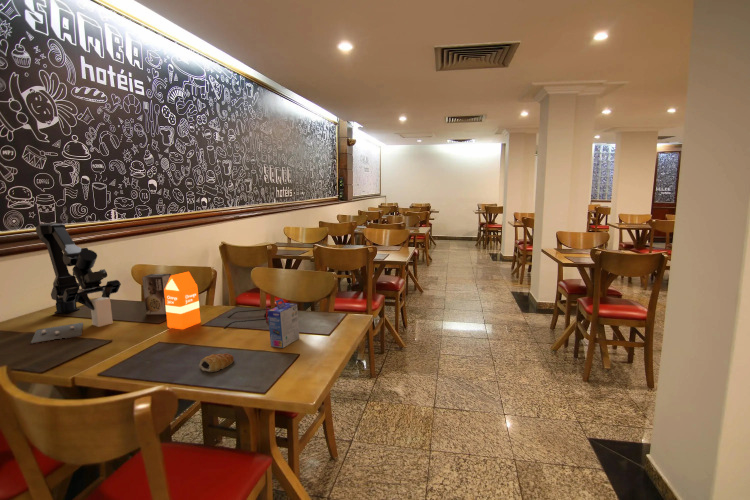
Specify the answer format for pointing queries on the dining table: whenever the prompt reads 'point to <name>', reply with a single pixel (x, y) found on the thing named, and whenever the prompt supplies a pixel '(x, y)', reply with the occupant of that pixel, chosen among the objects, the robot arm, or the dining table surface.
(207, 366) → the pastry
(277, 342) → the ink cartridge box
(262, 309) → the glasses
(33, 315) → the dining table surface
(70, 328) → the locator pins
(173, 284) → the orange juice
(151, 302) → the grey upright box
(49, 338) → the mat
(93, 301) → the block
